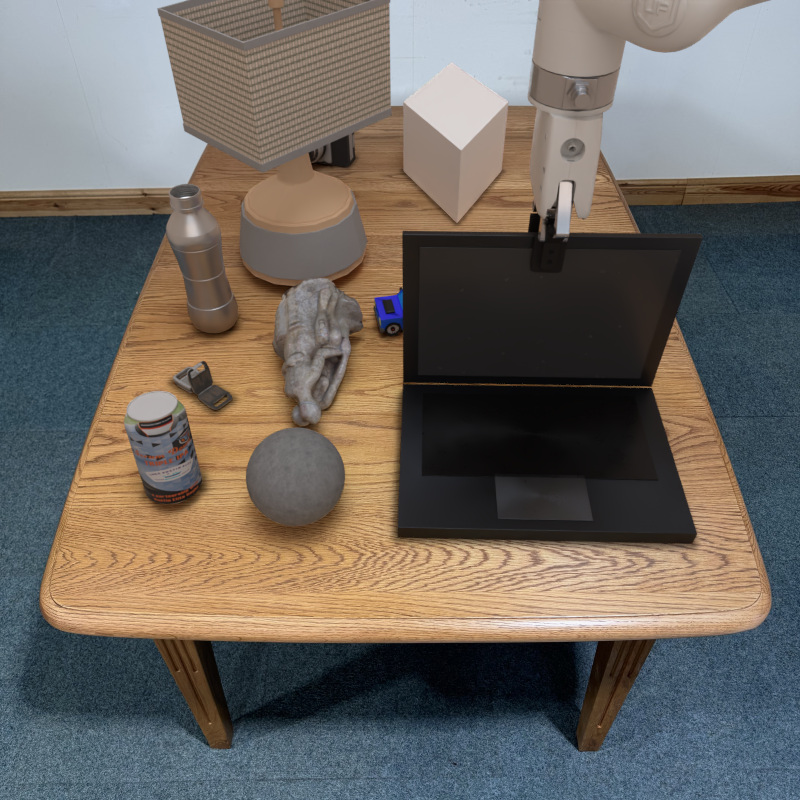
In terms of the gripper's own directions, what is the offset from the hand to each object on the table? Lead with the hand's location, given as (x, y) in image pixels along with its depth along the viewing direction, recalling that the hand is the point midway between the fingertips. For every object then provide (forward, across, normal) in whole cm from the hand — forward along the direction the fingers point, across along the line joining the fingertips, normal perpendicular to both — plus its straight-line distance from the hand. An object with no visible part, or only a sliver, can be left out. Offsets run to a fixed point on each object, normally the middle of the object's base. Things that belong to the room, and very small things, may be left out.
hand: (543, 257), depth 76 cm
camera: (+20, +58, +32) cm, 70 cm away
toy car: (+19, +13, +13) cm, 27 cm away
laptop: (+19, -12, 0) cm, 23 cm away
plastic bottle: (+20, +12, +40) cm, 46 cm away
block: (+20, +55, +7) cm, 59 cm away
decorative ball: (+19, -19, +25) cm, 37 cm away
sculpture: (+19, 0, +25) cm, 32 cm away
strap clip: (+20, -1, +40) cm, 44 cm away
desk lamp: (+20, +27, +30) cm, 45 cm away
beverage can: (+19, -16, +39) cm, 47 cm away
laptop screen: (+7, -2, 0) cm, 7 cm away
